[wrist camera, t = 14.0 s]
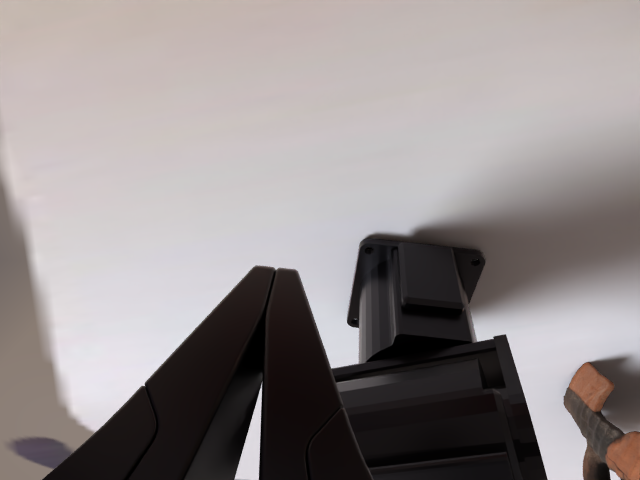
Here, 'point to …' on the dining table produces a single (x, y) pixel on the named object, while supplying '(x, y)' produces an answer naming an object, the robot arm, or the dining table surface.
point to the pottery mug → (601, 428)
